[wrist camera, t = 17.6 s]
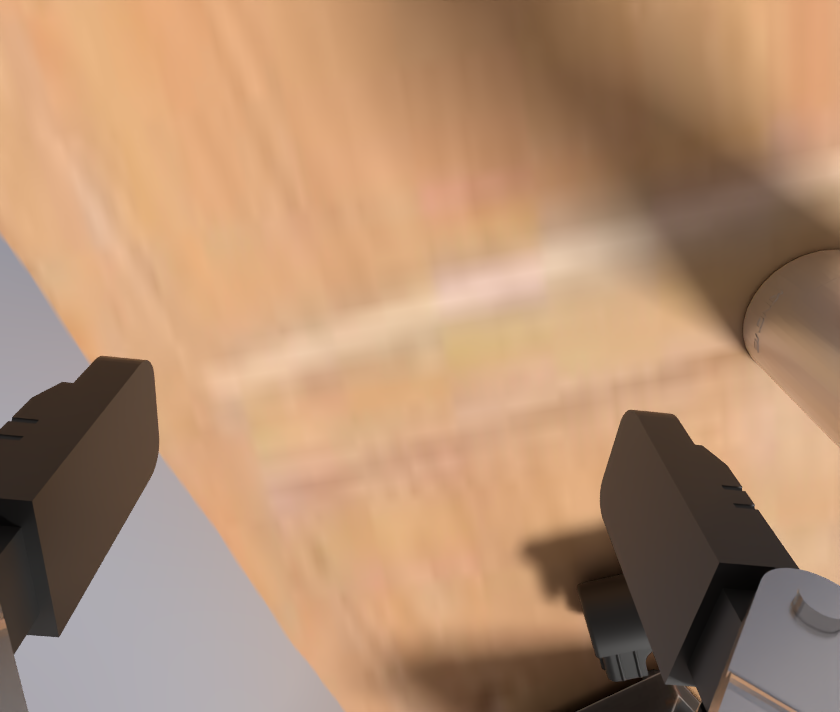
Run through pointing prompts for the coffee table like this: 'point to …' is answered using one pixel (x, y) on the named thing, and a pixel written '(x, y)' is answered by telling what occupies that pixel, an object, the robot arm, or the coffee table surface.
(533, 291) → the coffee table surface
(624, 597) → the black rectangular block
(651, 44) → the coffee table surface
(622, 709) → the voltmeter
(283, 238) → the coffee table surface
